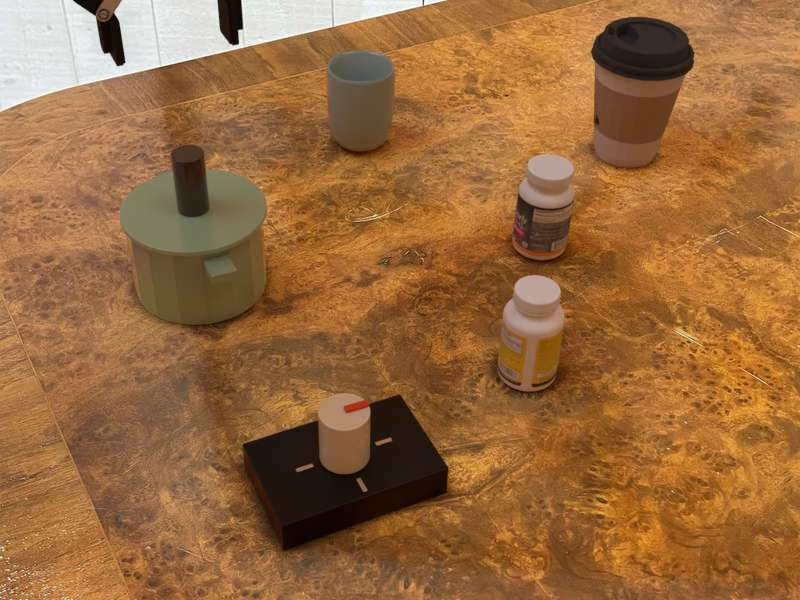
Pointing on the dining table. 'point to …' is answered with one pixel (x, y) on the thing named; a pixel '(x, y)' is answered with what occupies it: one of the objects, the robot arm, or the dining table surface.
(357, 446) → the knob
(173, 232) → the pot lid
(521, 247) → the pill bottle
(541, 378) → the supplement bottle
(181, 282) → the pot
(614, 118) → the coffee cup
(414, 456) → the panel
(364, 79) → the cup
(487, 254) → the dining table surface
